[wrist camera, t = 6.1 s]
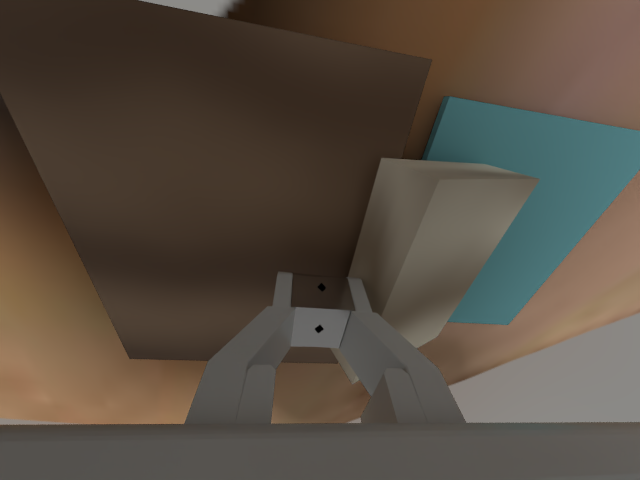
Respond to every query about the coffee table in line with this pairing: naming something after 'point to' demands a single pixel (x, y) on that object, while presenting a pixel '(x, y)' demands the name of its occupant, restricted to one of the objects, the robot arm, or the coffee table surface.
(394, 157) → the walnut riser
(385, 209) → the birch tile
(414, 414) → the robot arm
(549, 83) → the coffee table surface
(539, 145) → the teal mat
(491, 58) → the coffee table surface
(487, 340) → the coffee table surface
